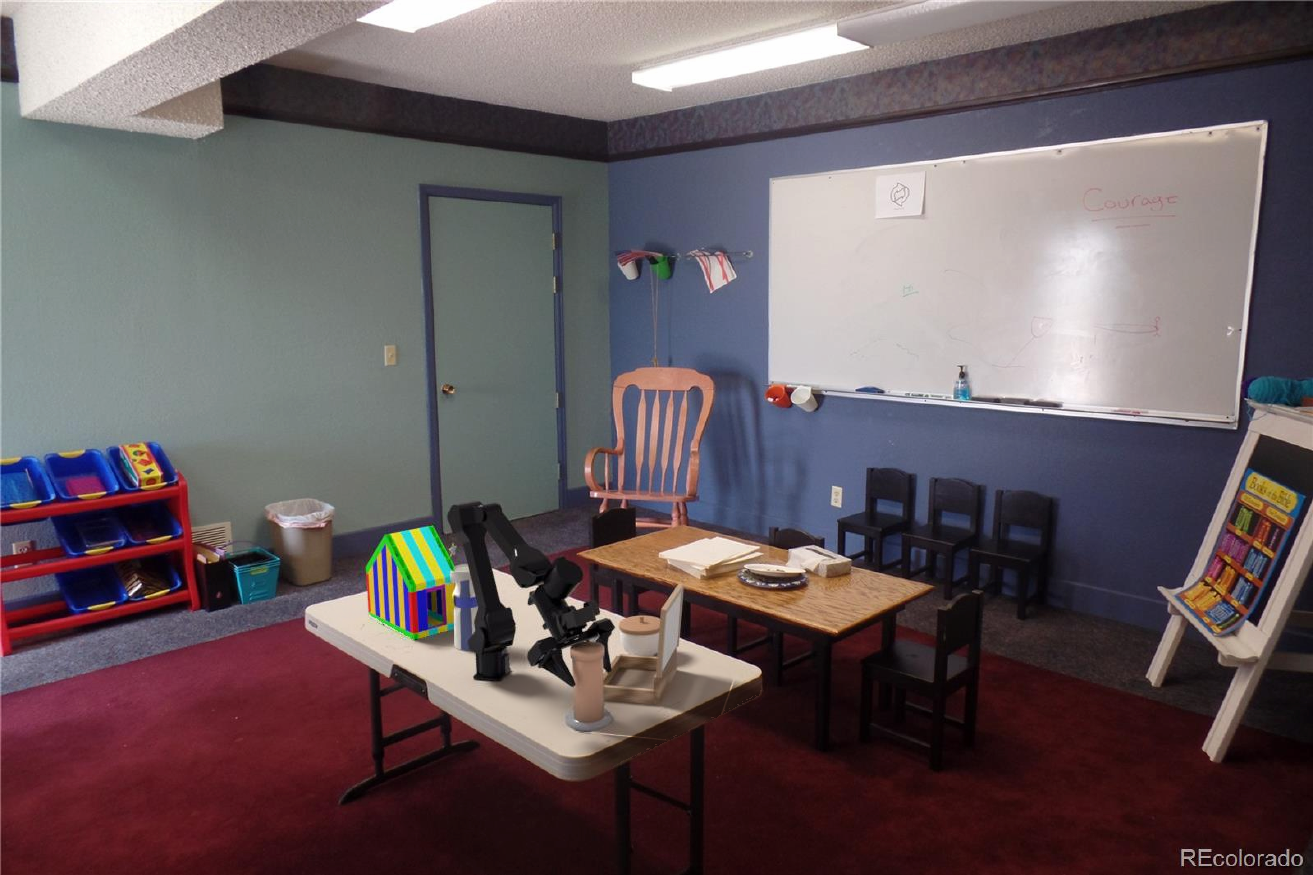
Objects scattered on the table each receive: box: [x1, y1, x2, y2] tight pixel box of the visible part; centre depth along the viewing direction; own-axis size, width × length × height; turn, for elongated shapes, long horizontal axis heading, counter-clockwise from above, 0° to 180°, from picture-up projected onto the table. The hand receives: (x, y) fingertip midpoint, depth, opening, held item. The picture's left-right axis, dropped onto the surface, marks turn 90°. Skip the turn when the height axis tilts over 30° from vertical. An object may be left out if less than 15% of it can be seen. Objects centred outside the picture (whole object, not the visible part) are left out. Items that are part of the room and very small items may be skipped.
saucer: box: [565, 708, 612, 733], centre depth 171 cm, size 9×9×1 cm
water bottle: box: [448, 543, 478, 651], centre depth 211 cm, size 8×9×25 cm
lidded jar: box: [618, 615, 660, 657], centre depth 204 cm, size 11×11×9 cm
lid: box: [656, 582, 685, 678], centre depth 184 cm, size 2×18×14 cm, turn 167°
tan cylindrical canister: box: [569, 641, 605, 723], centre depth 170 cm, size 7×7×14 cm
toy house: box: [365, 525, 456, 641], centre depth 227 cm, size 24×14×25 cm, turn 44°
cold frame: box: [603, 647, 678, 705], centre depth 187 cm, size 14×18×6 cm
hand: (592, 678), depth 169 cm, fingers open, 9 cm apart
